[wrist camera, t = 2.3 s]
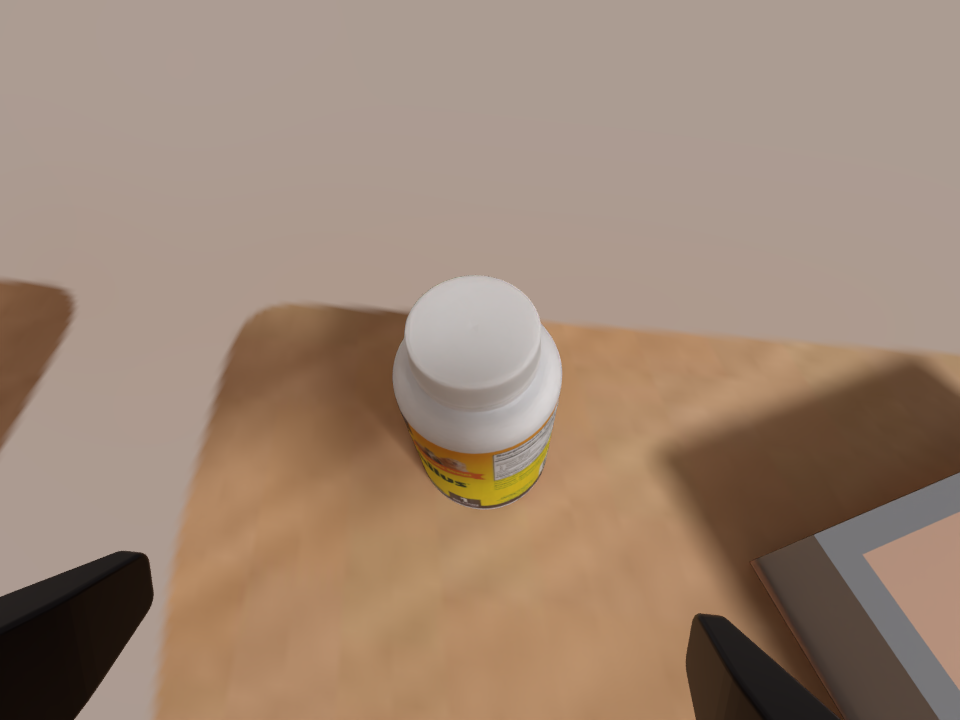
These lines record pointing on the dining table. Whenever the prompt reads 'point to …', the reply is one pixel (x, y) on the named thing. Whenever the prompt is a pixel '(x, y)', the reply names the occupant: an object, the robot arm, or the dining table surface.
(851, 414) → the dining table surface
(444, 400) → the supplement bottle
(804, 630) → the walled box
